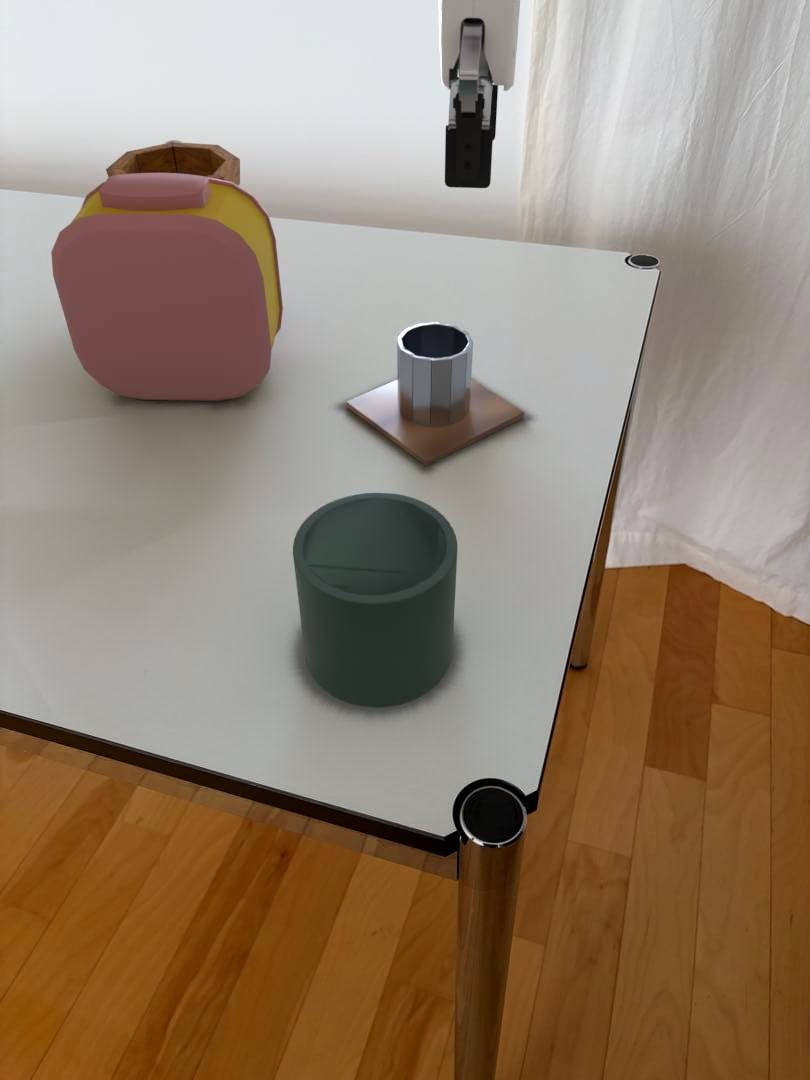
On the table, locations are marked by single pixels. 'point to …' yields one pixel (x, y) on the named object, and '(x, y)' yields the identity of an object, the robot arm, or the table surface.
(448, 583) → the dark green cylinder
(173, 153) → the mug
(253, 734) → the table surface
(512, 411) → the coaster mat
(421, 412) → the cup
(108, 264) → the alarm clock
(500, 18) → the robot arm
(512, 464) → the table surface
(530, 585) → the table surface
